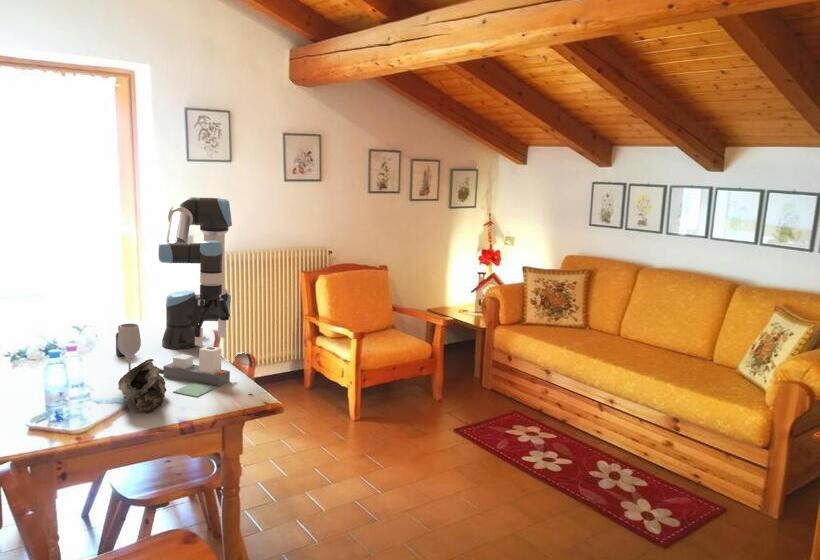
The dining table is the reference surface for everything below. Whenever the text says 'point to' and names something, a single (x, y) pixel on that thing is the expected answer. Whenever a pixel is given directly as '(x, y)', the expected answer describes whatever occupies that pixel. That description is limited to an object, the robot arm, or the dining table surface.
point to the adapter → (183, 361)
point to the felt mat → (194, 389)
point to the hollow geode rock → (144, 386)
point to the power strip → (196, 375)
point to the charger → (210, 360)
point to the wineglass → (129, 340)
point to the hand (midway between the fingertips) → (210, 341)
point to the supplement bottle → (117, 346)
